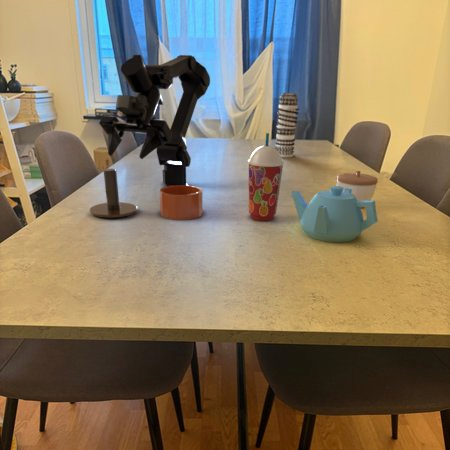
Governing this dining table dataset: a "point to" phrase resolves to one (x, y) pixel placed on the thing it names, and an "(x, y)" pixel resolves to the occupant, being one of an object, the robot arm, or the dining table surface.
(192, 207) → the crock
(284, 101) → the white patterned cylinder
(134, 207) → the brown disc with post
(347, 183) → the trinket box
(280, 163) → the smoothie
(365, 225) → the teapot
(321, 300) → the dining table surface
